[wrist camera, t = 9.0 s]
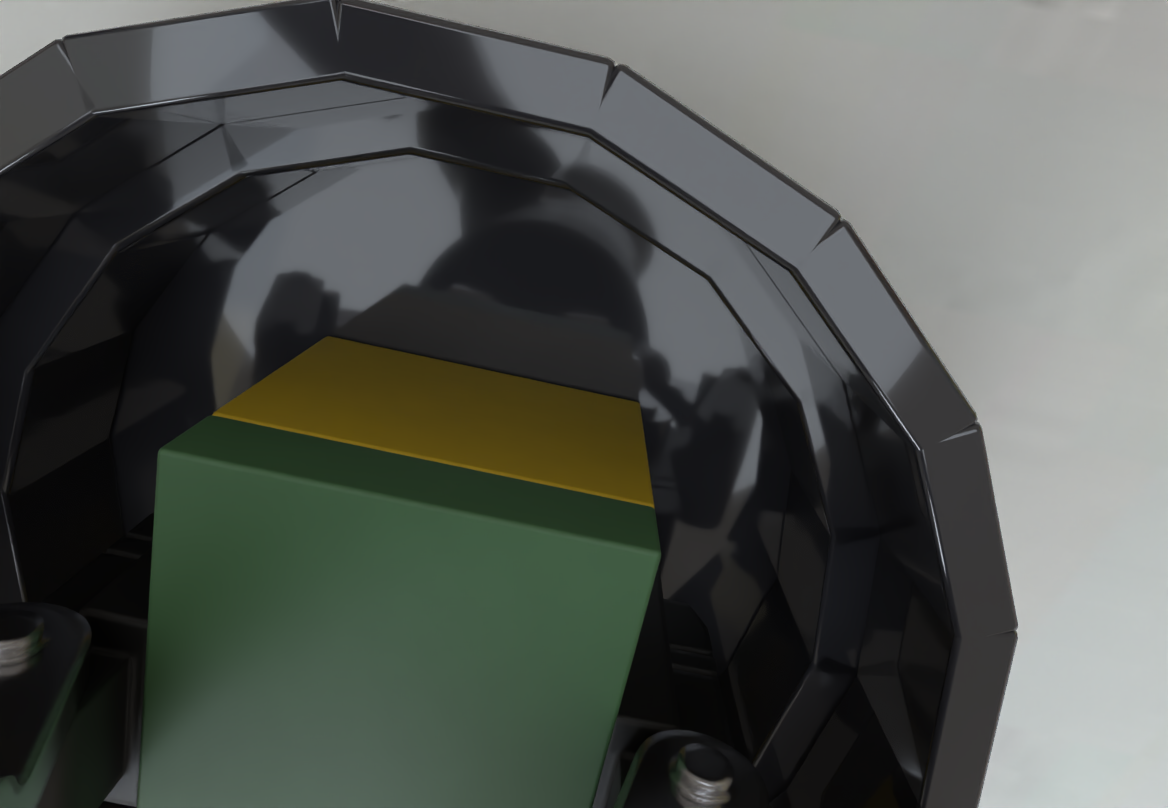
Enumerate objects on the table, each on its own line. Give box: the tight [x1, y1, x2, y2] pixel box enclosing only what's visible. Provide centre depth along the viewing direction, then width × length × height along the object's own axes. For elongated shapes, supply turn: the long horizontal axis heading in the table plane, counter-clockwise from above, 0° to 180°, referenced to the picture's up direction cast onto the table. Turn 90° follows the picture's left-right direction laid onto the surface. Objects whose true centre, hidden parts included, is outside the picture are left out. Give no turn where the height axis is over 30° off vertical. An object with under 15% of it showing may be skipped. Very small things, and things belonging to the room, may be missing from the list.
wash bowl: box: [0, 0, 1018, 808], centre depth 10 cm, size 12×12×5 cm
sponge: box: [137, 336, 661, 808], centre depth 10 cm, size 6×4×4 cm
